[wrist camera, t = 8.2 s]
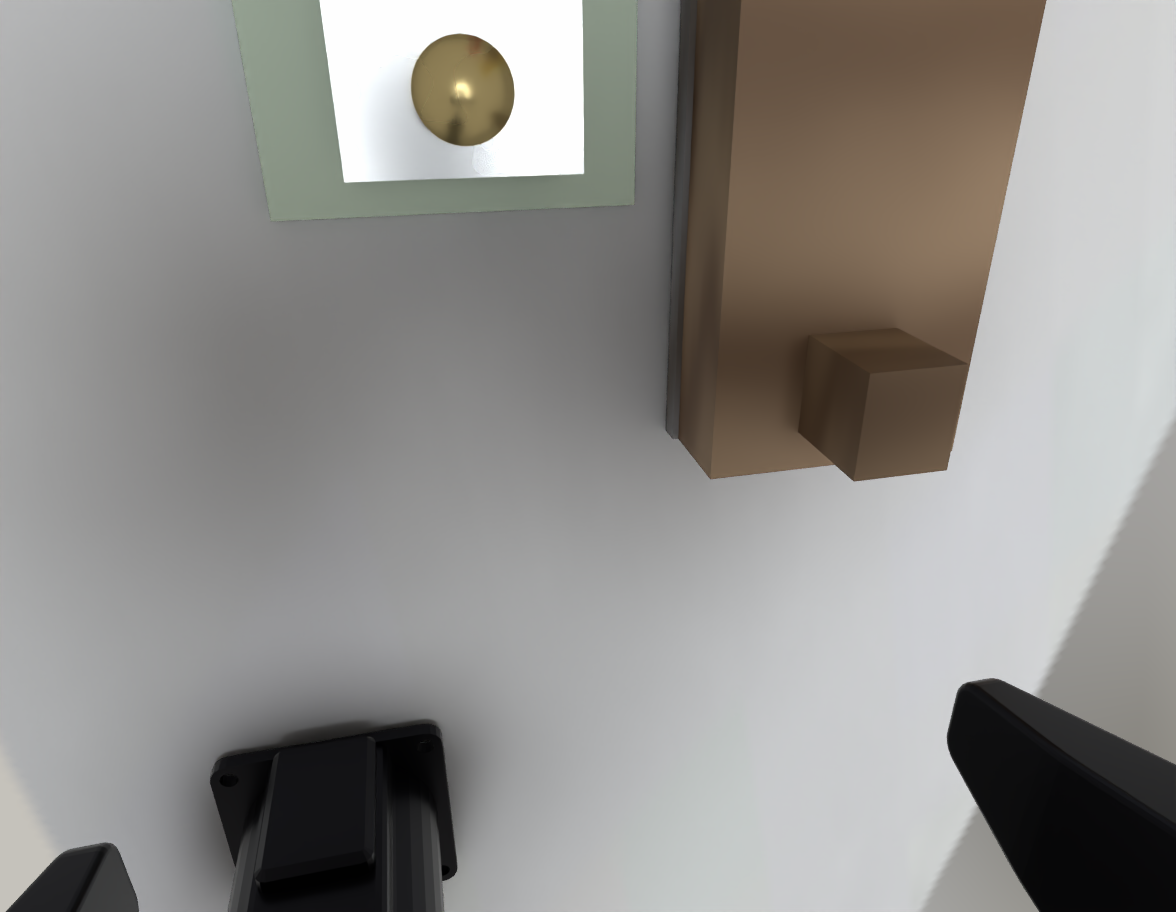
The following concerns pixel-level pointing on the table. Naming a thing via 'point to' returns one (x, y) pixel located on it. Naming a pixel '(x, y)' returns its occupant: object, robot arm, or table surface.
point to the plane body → (837, 225)
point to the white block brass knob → (456, 87)
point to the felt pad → (317, 190)
